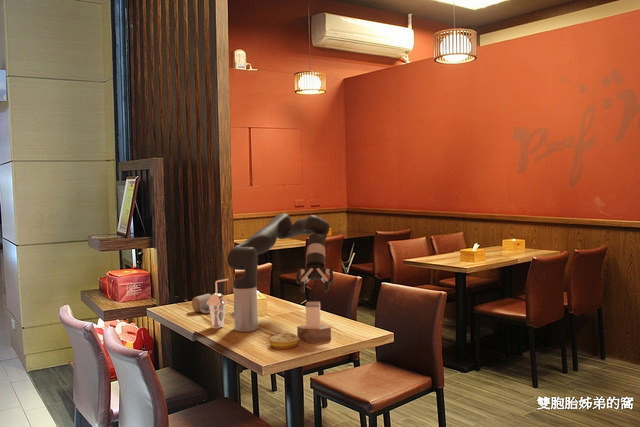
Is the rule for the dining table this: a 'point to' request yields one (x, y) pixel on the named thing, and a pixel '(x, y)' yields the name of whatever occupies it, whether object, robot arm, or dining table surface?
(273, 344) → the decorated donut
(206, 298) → the ceramic mug
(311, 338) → the walnut block
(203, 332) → the dining table surface
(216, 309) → the cup with straw
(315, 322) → the canister
